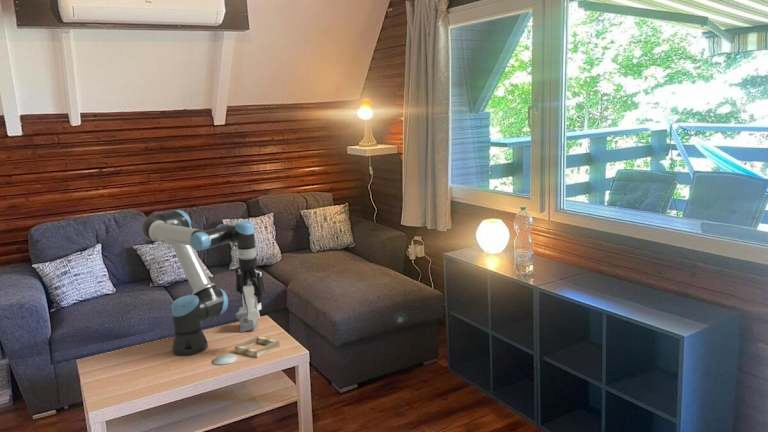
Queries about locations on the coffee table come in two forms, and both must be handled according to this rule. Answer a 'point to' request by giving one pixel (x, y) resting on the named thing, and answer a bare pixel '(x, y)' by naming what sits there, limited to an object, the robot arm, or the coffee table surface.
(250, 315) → the silver tall cylindrical piece
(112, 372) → the coffee table surface
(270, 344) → the frame
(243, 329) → the incense holder
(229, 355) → the white glossy dome
